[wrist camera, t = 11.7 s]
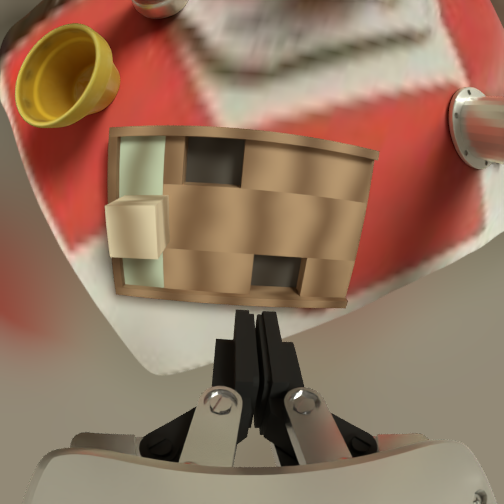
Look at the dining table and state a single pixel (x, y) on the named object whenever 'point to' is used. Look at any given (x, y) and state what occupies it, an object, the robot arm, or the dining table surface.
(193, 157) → the box
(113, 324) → the dining table surface
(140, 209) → the block
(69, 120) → the plant pot
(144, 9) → the plastic bottle
